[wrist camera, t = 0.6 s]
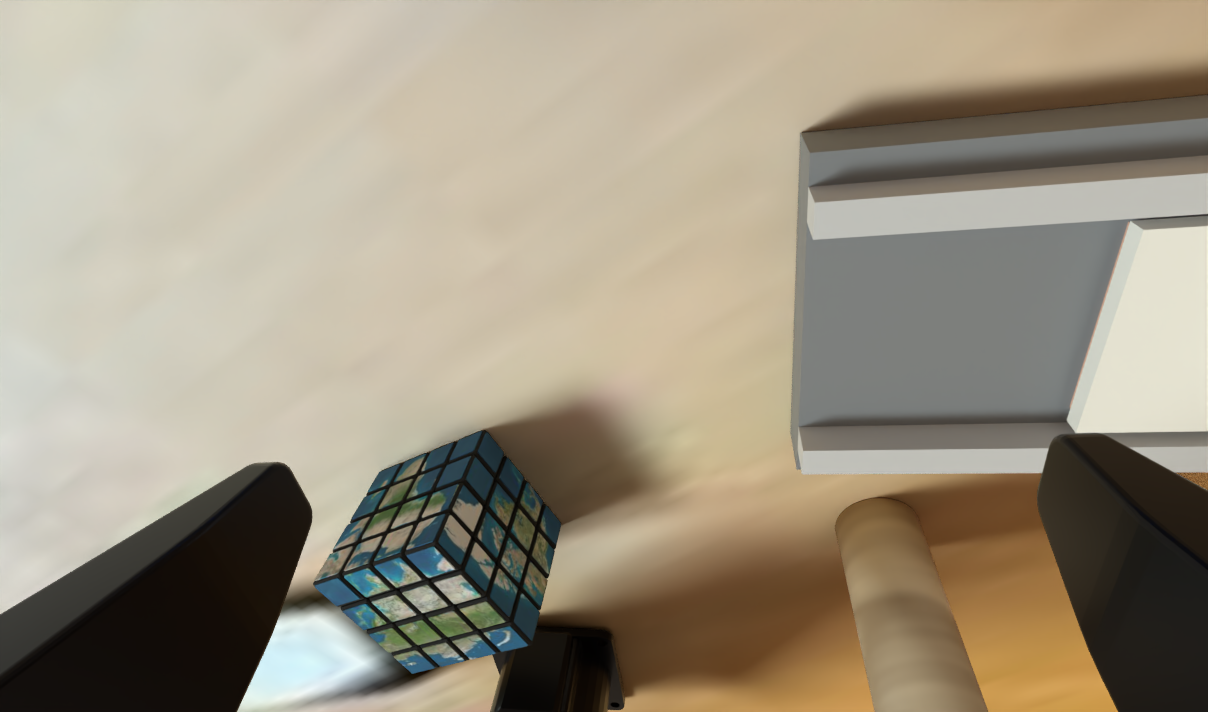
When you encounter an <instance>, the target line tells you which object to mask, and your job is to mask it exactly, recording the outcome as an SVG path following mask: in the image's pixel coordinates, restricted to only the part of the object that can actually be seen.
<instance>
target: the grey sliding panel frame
mask: <svg viewBox="0 0 1208 712" xmlns="http://www.w3.org/2000/svg"><path fill="white" fill-rule="evenodd" d="M1198 216H1208V95H1200V96H1189V97H1179V98H1168V99H1157V100H1147V101H1136V102H1125V103H1115V104H1104V105H1093V106H1083V107H1072V108H1061V109H1050V110H1040V111H1029V112H1018V113H1008V114H997V115H986V116H976V117H965V118H954V119H944V120H933V121H922V122H912V123H901V124H890V125H880V126H869V127H858V128H848V129H837V130H826V131H816V132H805V133H800V161H799V191H798V221H797V251H796V281H795V312H794V342H793V372H792V402H791V439H792V444H793V450H794V456H795V462H796V468H797V469H801V472H802V474H963V473H1042V471H1043V468H1044V464H1045V460H1046V456H1047V452H1048V449H1049V446H1050V443H1051V441H1052V440H1053V438H1054V437H1056V436H1058V435H1060V434H1069V433H1075V431H1074V430H1073V429H1072V427H1071V426H1070V425H1069V423H1068V422H1067V417H1068V414H1069V411H1070V408H1071V405H1072V402H1073V399H1074V396H1075V392H1076V389H1077V386H1078V383H1079V380H1080V377H1081V374H1082V370H1083V367H1084V364H1085V361H1086V358H1087V355H1088V352H1089V349H1090V345H1091V342H1092V339H1093V336H1094V333H1095V330H1096V327H1097V323H1098V320H1099V317H1100V314H1101V311H1102V308H1103V305H1104V302H1105V298H1106V295H1107V292H1108V289H1109V286H1110V283H1111V280H1112V277H1113V273H1114V270H1115V267H1116V264H1117V261H1118V258H1119V255H1120V251H1121V248H1122V245H1123V242H1124V239H1125V236H1126V233H1127V230H1128V226H1129V223H1130V221H1136V220H1152V219H1167V218H1182V217H1198ZM1101 434H1104V435H1107V436H1109V437H1111V438H1113V439H1115V440H1116V441H1118V442H1120V443H1122V444H1124V445H1125V446H1127V447H1129V448H1131V449H1133V450H1135V451H1136V452H1138V453H1140V454H1142V455H1144V456H1146V457H1147V458H1149V459H1151V460H1153V461H1155V462H1157V463H1158V464H1160V465H1162V466H1164V467H1166V468H1167V469H1169V470H1171V471H1173V472H1208V431H1197V432H1127V433H1101Z"/></svg>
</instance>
